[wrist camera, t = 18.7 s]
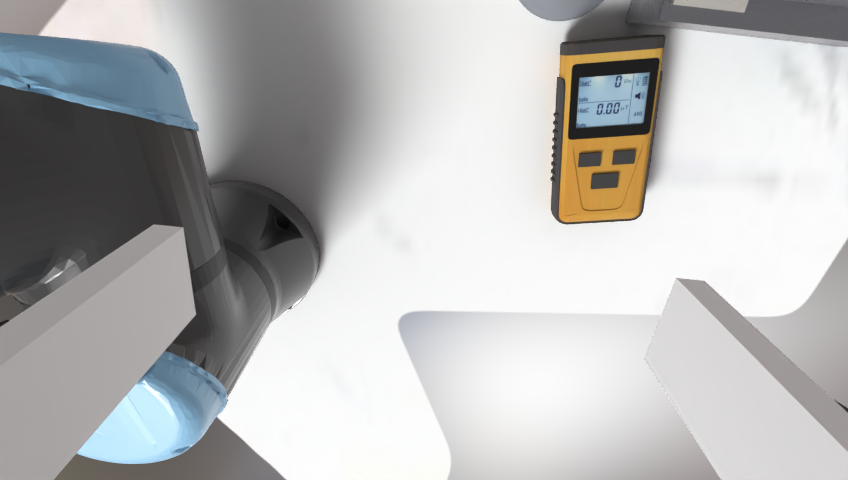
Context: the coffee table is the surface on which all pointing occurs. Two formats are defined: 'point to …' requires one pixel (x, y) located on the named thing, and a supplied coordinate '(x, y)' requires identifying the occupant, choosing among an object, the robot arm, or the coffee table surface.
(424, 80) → the coffee table surface
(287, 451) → the coffee table surface
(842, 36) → the box
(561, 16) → the coaster
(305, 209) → the coffee table surface
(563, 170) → the electronic device
